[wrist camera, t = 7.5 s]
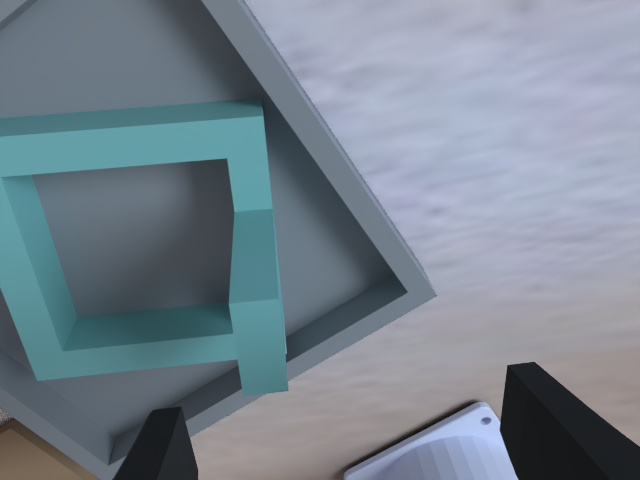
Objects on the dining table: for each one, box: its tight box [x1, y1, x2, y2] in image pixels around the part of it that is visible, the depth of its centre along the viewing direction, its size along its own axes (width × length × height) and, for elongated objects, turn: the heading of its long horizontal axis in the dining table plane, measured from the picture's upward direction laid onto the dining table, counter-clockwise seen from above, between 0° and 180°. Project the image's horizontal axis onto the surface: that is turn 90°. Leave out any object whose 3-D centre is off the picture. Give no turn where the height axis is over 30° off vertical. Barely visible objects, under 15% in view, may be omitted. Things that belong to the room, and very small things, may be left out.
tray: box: [0, 0, 437, 480], centre depth 20 cm, size 16×16×2 cm
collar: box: [0, 98, 288, 396], centre depth 17 cm, size 9×9×7 cm
